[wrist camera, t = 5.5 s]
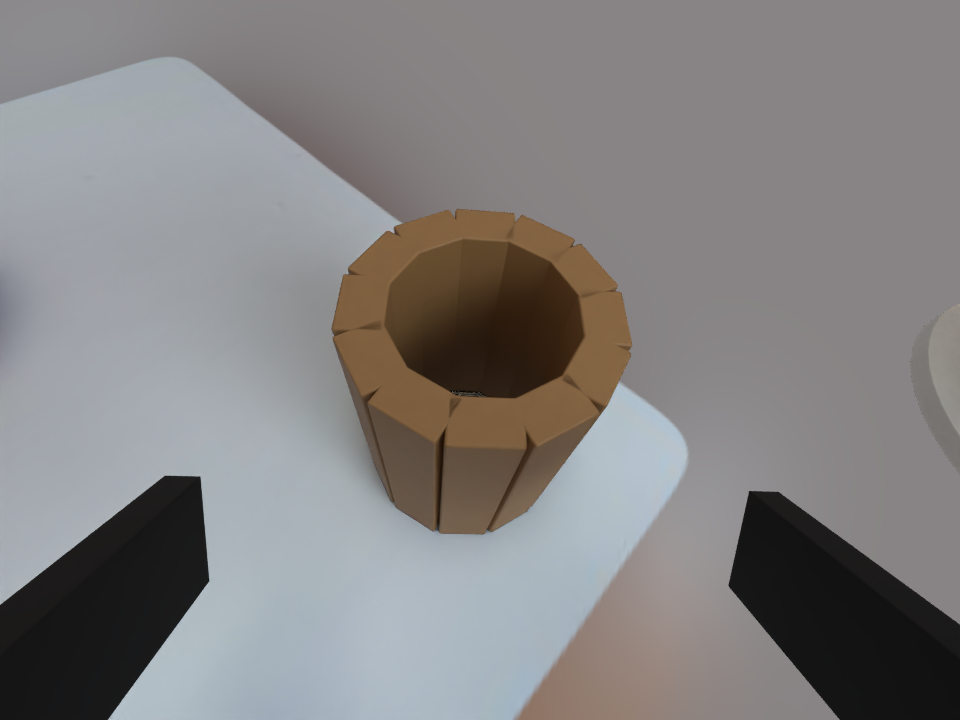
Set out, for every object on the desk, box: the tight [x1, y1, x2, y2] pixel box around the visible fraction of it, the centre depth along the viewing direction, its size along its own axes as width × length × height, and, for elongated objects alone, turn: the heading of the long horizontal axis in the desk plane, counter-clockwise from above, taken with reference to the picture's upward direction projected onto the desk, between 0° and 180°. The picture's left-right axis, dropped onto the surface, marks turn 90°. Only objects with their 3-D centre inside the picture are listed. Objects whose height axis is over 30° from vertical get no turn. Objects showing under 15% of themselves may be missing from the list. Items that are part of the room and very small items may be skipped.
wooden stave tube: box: [332, 209, 632, 534], centre depth 20 cm, size 10×10×12 cm
